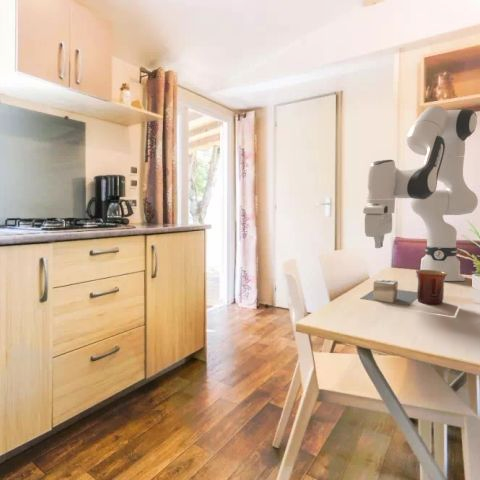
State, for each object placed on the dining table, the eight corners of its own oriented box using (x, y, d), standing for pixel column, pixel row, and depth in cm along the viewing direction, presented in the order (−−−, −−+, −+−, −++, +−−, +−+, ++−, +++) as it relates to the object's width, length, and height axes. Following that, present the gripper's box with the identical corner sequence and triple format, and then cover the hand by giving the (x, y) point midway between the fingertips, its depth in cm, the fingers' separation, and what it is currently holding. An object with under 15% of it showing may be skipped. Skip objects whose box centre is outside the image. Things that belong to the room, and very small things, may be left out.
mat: (378, 288, 132) (378, 287, 132) (421, 294, 123) (421, 292, 123) (359, 300, 114) (359, 298, 114) (408, 307, 105) (409, 306, 105)
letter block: (373, 281, 113) (373, 299, 113) (393, 283, 109) (392, 302, 109) (379, 278, 117) (378, 296, 118) (397, 280, 114) (397, 298, 114)
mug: (411, 299, 115) (412, 269, 115) (439, 300, 114) (441, 270, 113) (422, 309, 104) (424, 275, 103) (454, 311, 102) (456, 277, 101)
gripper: (379, 207, 128) (378, 243, 129) (361, 208, 112) (360, 250, 113) (397, 207, 124) (395, 245, 126) (381, 208, 108) (379, 252, 109)
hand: (378, 247), depth 119 cm, fingers closed
